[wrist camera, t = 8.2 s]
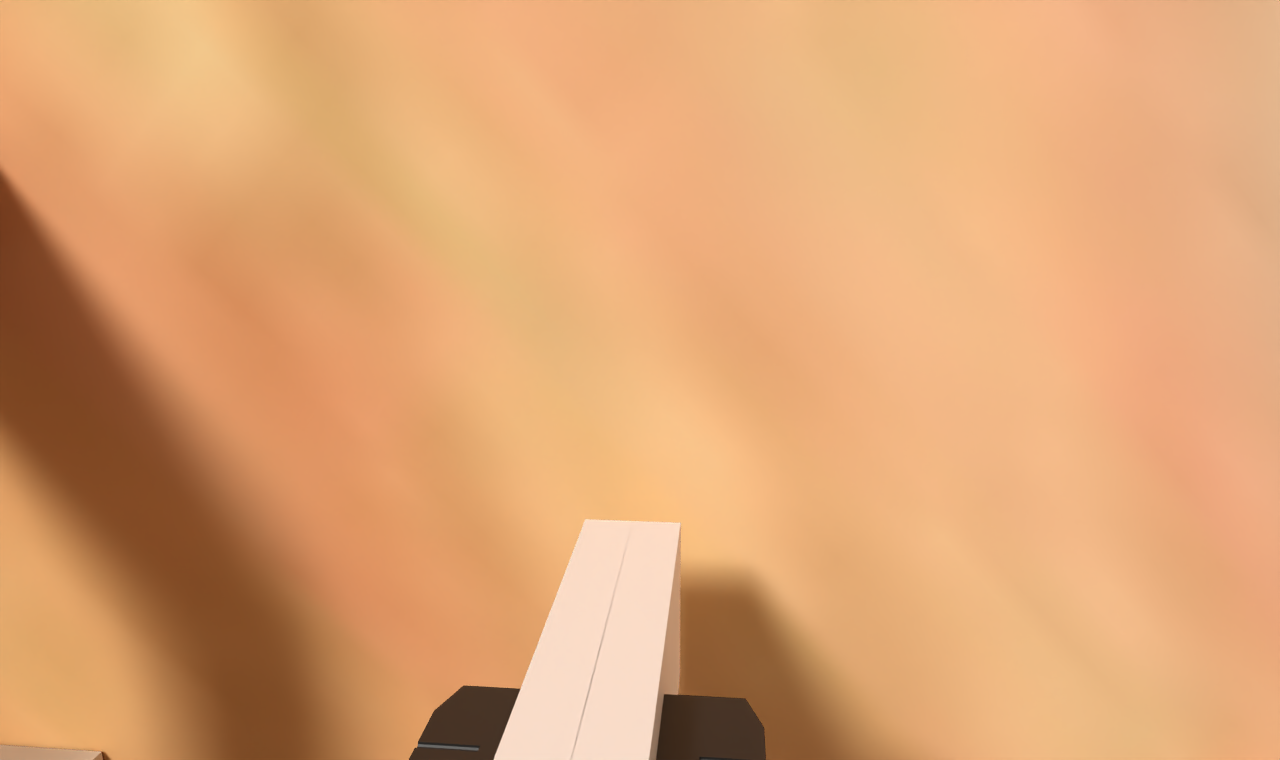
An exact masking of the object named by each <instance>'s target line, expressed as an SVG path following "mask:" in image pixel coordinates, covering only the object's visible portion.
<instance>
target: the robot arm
mask: <svg viewBox="0 0 1280 760" xmlns="http://www.w3.org/2000/svg"><path fill="white" fill-rule="evenodd" d="M680 548H681V523H672V522H644V521H616V520H589V519H585V522H584V524H583V527H582V530H581V532H580V535H579V537H578V540H577V543H576V545H575V548H574V550H573V553H572V556H571V558H570V561H569V564H568V566H567V569H566V571H565V574H564V577H563V579H562V582H561V584H560V587H559V590H558V592H557V595H556V598H555V600H554V603H553V605H552V608H551V611H550V613H549V616H548V618H547V621H546V624H545V626H544V629H543V632H542V634H541V637H540V639H539V642H538V645H537V647H536V650H535V652H534V655H533V658H532V660H531V663H530V666H529V668H528V671H527V673H526V676H525V679H524V681H523V684H522V686H521V689H514V688H497V687H479V686H463V687H461V688H460V689H459V690H458V691H457V692H456V693H454V694H453V695H452V696H451V697H450V698H449V699H447V700H446V701H445V702H444V703H443V704H442V705H440V706H439V707H438V708H437V709H436V710H435V711H434V712H433V714H432V716H431V718H430V720H429V722H428V724H427V726H426V728H425V729H424V731H423V733H422V735H421V737H420V739H419V741H418V747H417V748H415V749H414V751H413V753H412V755H411V756H410V758H409V760H766V755H765V736H764V727H763V725H762V724H761V722H760V721H759V719H758V717H757V716H756V714H755V713H754V711H753V710H752V708H751V707H750V705H749V704H748V702H747V700H746V699H743V698H725V697H708V696H690V695H678V690H679V680H680Z"/></svg>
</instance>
